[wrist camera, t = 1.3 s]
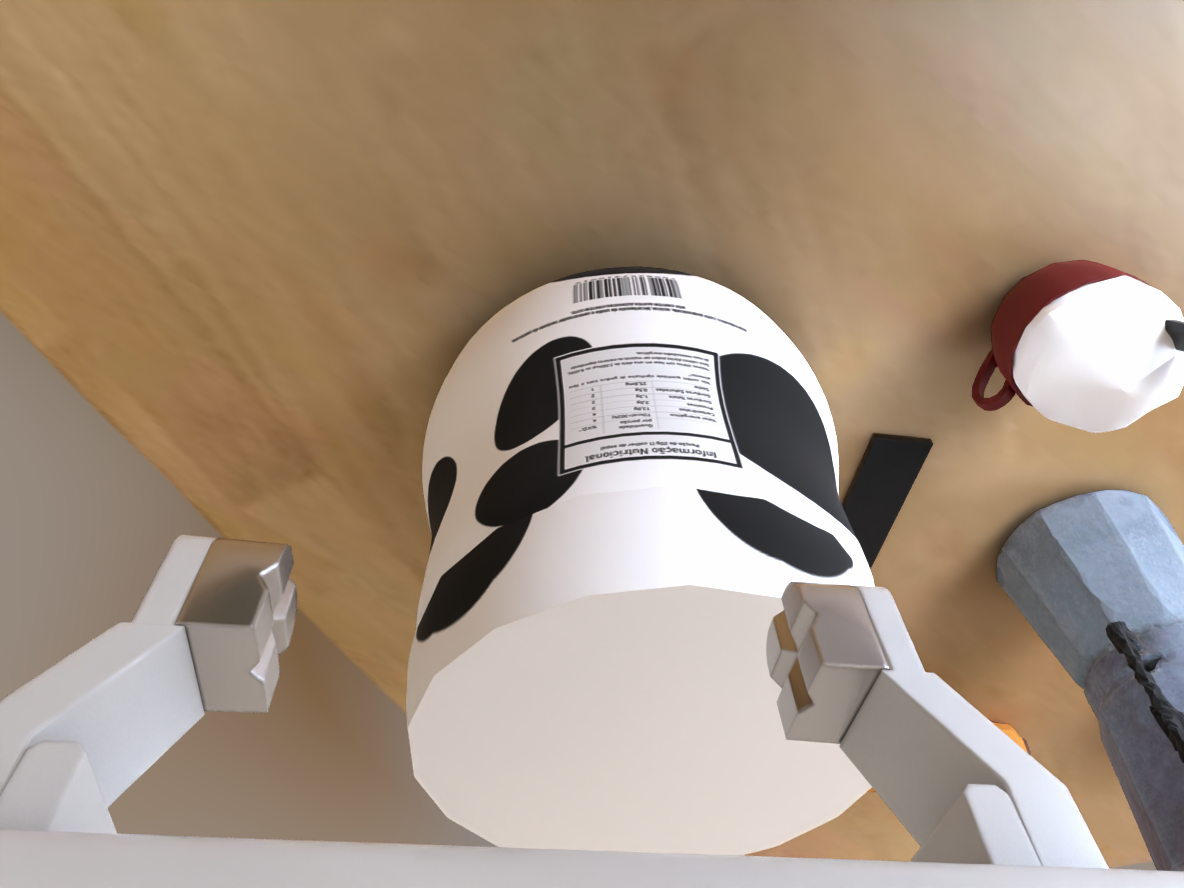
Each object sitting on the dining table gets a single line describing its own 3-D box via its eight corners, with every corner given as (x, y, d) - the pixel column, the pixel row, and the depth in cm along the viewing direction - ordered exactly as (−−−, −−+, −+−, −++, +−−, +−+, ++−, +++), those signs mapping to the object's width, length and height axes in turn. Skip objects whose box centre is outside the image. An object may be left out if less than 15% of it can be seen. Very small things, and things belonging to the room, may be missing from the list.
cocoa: (953, 389, 39) (1078, 578, 30) (938, 277, 36) (1076, 451, 26) (1167, 323, 38) (1373, 502, 28) (1175, 198, 34) (1415, 355, 24)
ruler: (873, 432, 41) (875, 438, 40) (930, 438, 41) (934, 444, 41) (739, 735, 57) (740, 741, 56) (781, 737, 57) (783, 743, 57)
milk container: (597, 584, 47) (614, 927, 33) (358, 393, 38) (241, 744, 24) (872, 421, 40) (1043, 761, 26) (657, 147, 32) (737, 431, 18)
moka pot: (1063, 641, 51) (1285, 1016, 36) (912, 528, 45) (1103, 925, 29) (1215, 555, 47) (1546, 939, 31) (1073, 417, 41) (1398, 813, 25)
